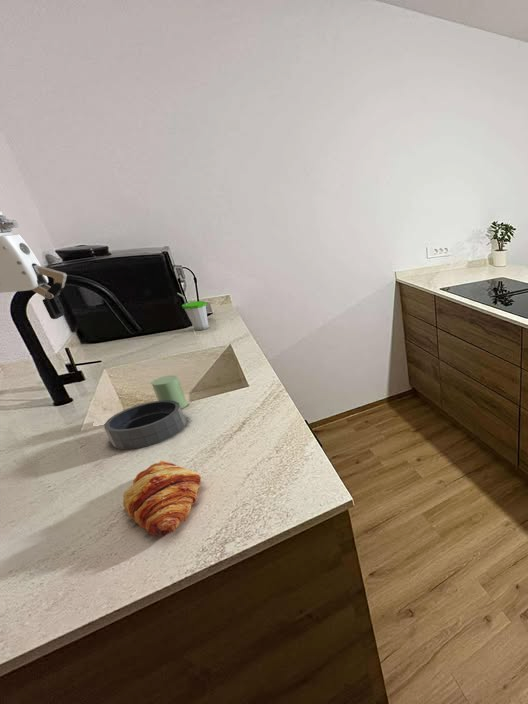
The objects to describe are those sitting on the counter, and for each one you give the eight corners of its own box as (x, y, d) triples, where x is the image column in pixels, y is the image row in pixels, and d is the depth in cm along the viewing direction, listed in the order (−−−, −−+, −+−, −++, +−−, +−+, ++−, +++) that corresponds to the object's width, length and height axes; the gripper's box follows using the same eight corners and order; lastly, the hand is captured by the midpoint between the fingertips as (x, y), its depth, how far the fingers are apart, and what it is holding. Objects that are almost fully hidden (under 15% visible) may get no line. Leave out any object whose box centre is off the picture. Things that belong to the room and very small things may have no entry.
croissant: (151, 493, 71) (109, 472, 66) (199, 452, 74) (163, 430, 69) (158, 567, 56) (105, 547, 51) (218, 512, 60) (174, 488, 55)
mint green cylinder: (160, 415, 90) (148, 386, 87) (166, 406, 94) (154, 377, 91) (185, 411, 92) (174, 382, 89) (190, 401, 96) (179, 373, 93)
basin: (103, 458, 75) (93, 437, 73) (126, 426, 86) (117, 407, 84) (179, 441, 80) (171, 422, 78) (192, 413, 91) (185, 395, 89)
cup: (218, 326, 153) (207, 290, 147) (201, 332, 146) (189, 294, 140) (202, 325, 155) (191, 289, 149) (185, 331, 148) (172, 293, 142)
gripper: (53, 224, 72) (91, 310, 79) (-79, 228, 66) (-26, 321, 73) (31, 227, 66) (74, 319, 73) (-118, 231, 59) (-55, 333, 66)
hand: (24, 320), depth 73 cm, fingers open, 9 cm apart
